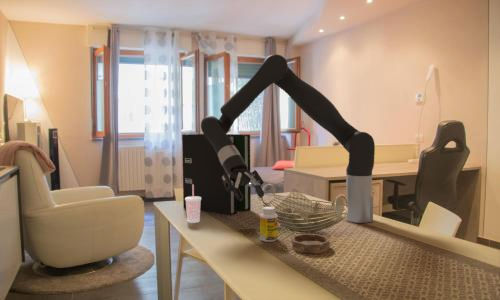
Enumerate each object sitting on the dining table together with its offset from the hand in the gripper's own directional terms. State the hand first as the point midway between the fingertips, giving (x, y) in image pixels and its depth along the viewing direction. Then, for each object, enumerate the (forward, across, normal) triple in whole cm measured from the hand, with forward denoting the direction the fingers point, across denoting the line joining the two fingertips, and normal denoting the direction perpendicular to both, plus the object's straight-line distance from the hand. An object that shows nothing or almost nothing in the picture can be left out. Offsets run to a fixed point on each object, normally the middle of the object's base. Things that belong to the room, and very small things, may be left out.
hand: (252, 198), depth 128 cm
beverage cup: (-11, -7, +28) cm, 31 cm away
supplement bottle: (+15, 0, +3) cm, 15 cm away
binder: (-20, +12, +37) cm, 44 cm away
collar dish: (+24, +4, -7) cm, 26 cm away
